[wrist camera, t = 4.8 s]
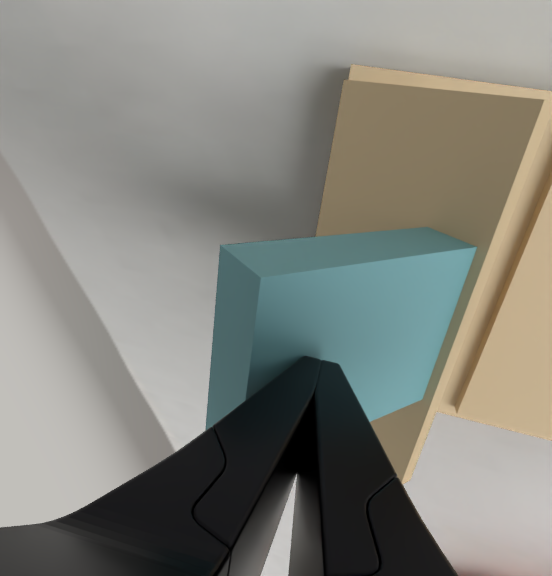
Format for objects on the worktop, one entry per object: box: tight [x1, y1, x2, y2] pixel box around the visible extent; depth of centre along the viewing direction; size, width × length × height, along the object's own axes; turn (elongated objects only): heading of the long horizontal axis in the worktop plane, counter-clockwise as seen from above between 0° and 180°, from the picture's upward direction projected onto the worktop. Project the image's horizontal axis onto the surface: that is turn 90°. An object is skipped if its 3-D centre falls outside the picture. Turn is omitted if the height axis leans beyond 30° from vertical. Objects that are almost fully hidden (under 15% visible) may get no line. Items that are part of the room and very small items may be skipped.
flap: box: [206, 80, 552, 484], centre depth 12 cm, size 7×12×7 cm
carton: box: [348, 64, 552, 441], centre depth 16 cm, size 14×13×2 cm
